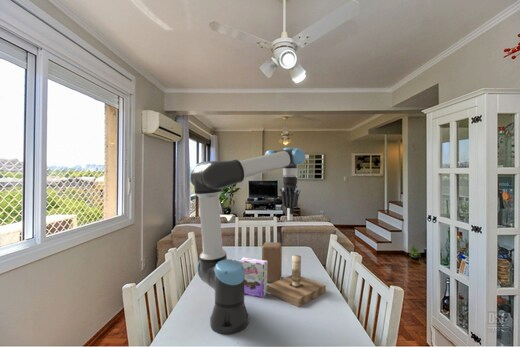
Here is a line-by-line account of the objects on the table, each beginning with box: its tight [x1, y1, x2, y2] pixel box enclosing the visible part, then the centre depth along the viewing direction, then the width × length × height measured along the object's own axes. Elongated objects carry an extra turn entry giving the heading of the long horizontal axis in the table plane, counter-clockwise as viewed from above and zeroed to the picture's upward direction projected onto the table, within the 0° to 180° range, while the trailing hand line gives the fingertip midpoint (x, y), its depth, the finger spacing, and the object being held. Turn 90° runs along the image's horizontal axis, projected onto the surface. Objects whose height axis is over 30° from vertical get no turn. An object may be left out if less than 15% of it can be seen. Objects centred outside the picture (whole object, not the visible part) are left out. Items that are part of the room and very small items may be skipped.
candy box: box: [237, 256, 268, 299], centre depth 130 cm, size 14×6×16 cm, turn 68°
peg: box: [291, 254, 302, 288], centre depth 131 cm, size 5×5×18 cm
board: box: [267, 274, 326, 308], centre depth 131 cm, size 22×20×4 cm
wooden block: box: [261, 241, 283, 284], centre depth 146 cm, size 10×10×20 cm
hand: (289, 220), depth 141 cm, fingers closed
